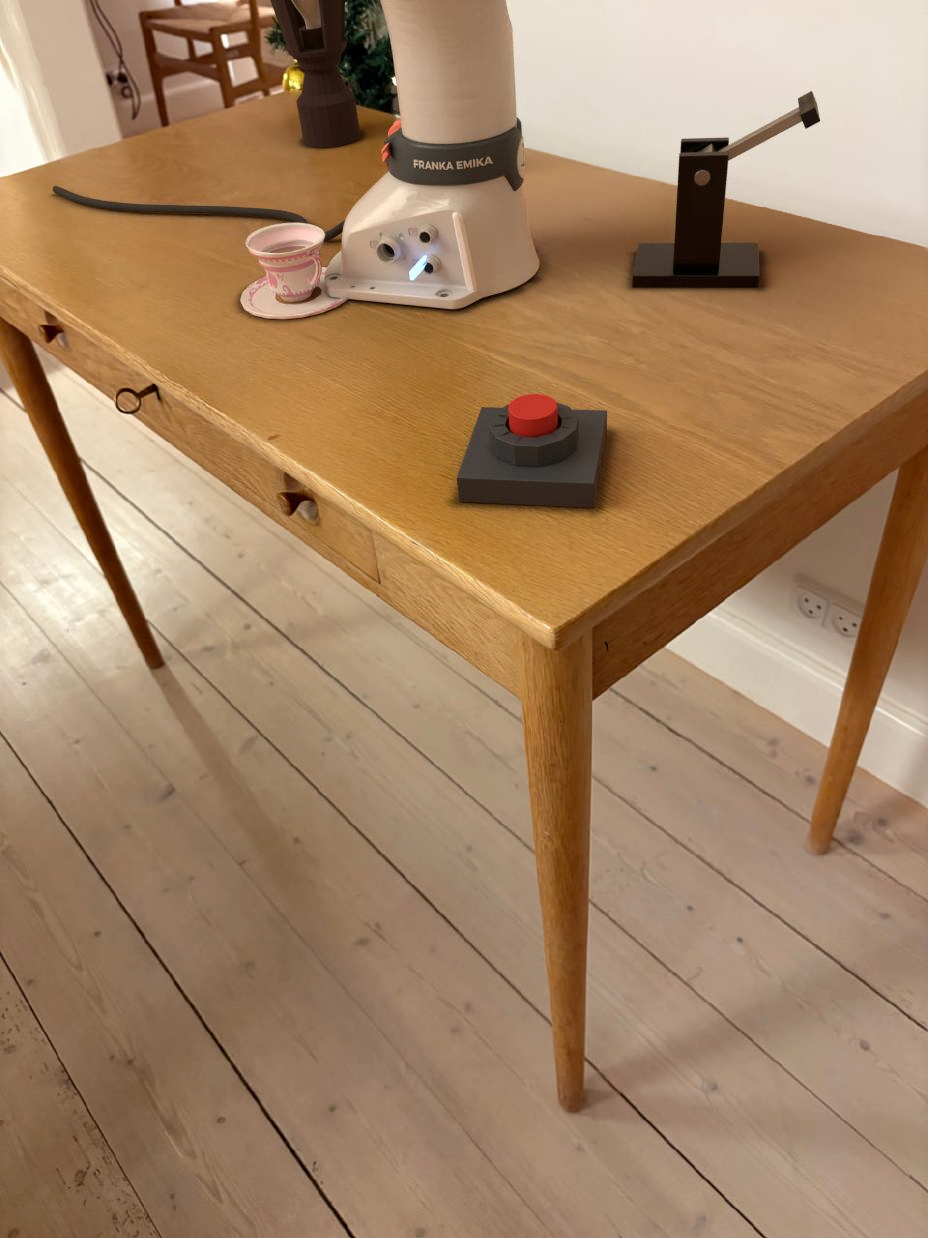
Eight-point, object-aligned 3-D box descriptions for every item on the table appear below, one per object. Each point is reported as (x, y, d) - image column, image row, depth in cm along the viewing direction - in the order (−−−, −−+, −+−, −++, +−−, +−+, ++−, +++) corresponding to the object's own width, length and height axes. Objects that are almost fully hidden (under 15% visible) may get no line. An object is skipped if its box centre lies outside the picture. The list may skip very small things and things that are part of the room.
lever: (819, 109, 92) (809, 84, 90) (822, 126, 88) (812, 101, 87) (695, 176, 97) (684, 153, 96) (693, 195, 94) (682, 171, 93)
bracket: (757, 253, 103) (770, 130, 95) (758, 287, 97) (772, 159, 89) (637, 254, 105) (641, 134, 97) (632, 287, 99) (635, 162, 92)
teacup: (218, 303, 105) (203, 245, 101) (304, 263, 112) (293, 206, 107) (292, 332, 99) (279, 271, 95) (379, 287, 105) (371, 228, 101)
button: (505, 438, 74) (504, 417, 73) (513, 413, 77) (512, 392, 76) (554, 440, 73) (553, 419, 72) (560, 414, 76) (560, 393, 75)
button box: (459, 502, 75) (454, 456, 72) (483, 430, 82) (479, 386, 79) (594, 508, 73) (594, 461, 70) (607, 434, 80) (607, 389, 77)
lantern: (387, 147, 139) (352, -122, 119) (280, 161, 138) (227, -106, 118) (379, 116, 150) (346, -134, 130) (280, 129, 149) (231, -120, 129)
